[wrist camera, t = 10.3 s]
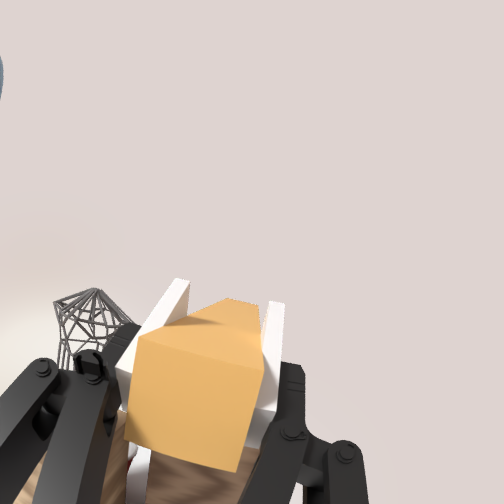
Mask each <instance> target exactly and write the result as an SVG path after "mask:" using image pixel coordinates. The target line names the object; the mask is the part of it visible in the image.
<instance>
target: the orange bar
mask: <svg viewBox="0 0 504 504" xmlns="http://www.w3.org/2000/svg"><path fill="white" fill-rule="evenodd" d="M260 334H261V330H260V320H259V309H258V305H254V304H250V303H246V302H242V301H237V300H233V299H229V298H226V299H224V300H222V301H220V302H217V303H215V304H213V305H210V306H208V307H206V308H204V309H201V310H199V311H197V312H195V313H192V314H190V315H188V316H185V317H183V318H181V319H179V320H176V321H174V322H172V323H169V324H167V325H165V326H162V327H160V328H158V329H155V330H153V331H150V332H148V333H146V334H143V335H141V336H139V337H138V342H137V347H136V353H135V359H134V365H133V371H132V378H131V384H130V391H129V399H128V406H127V415H126V423H125V433H124V440H126V441H129V442H132V443H134V444H137V445H139V446H142V447H145V448H148V449H151V450H153V451H156V452H159V453H162V454H166V455H169V456H172V457H175V458H178V459H182V460H185V461H189V462H192V463H196V464H200V465H204V466H208V467H212V468H216V469H221V470H225V471H230V472H235V473H236V470H237V467H238V463H239V460H240V457H241V453H242V450H243V446H244V443H245V440H246V436H247V433H248V429H249V426H250V422H251V419H252V415H253V411H254V408H255V404H256V401H257V397H258V393H259V390H260V386H261V382H262V378H263V375H264V361H263V352H262V347H261V335H260Z"/></svg>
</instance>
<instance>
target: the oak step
mask: <svg viewBox="0 0 504 504" xmlns="http://www.w3.org/2000/svg"><path fill="white" fill-rule="evenodd" d="M117 413H118V420H117V424H116V428H115V432H114V436H113V441H112V445H111V450H110V454H109V459H108V464H107V468H106V473H105V478H104V484H103V489H102V494H101V500H100V504H125V494H126V477H127V464H128V452H129V441H126V440H124V433H125V423H126V415H127V413H126V412H123V411H121V410H117ZM46 452H47V451H46ZM45 455H46V453H45V454H44V456H43V457H42V459H41V460H40V462H39V463H38V465H37V466H36V468H35V469H34V471H33V472H32V474H31V476H30V477H29V479H28V480H27V482H26V483H25V485H24V487H23V488H22V490H21V491H20V493H19V495H18V496H17V498H16V500H15V501H14V503H13V504H32V500H33V496H34V492H35V489H36V485H37V482H38V478H39V475H40V471H41V468H42V465H43V462H44V458H45Z"/></svg>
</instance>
